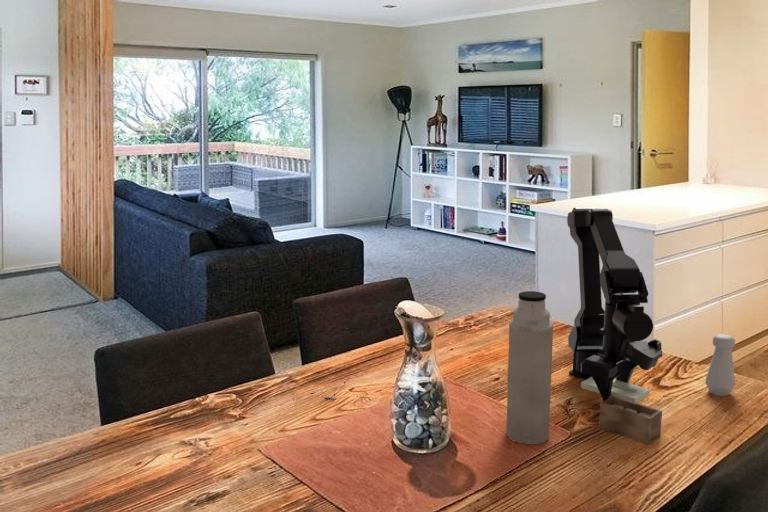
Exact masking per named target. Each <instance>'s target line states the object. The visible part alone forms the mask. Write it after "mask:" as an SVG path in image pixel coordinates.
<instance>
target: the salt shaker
mask: <svg viewBox="0 0 768 512" xmlns="http://www.w3.org/2000/svg"><path fill="white" fill-rule="evenodd" d="M712 345H713V346H714V351H713V355H712V358H711V361H710V364H709V367H708V370H707V373H706V376H705V385H706V387H707V389H708V393H709V394H710V395H711V394H712V395H714V396H715V397H727V395H728V396H729V395H731V393H732V391H733V389H734V388H735V385H736V380H735V370H734V362H733V361H734V360H733V354H732V353H733V351H732V350H733V348H734V347H735V346H736V339H735V338H734V337H733V336H732V335H730V334H724V333H720V334H719V333H718V334H715V335H713V337H712Z"/></svg>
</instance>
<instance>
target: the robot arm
mask: <svg viewBox="0 0 768 512" xmlns="http://www.w3.org/2000/svg"><path fill="white" fill-rule="evenodd" d="M613 216H614V215H613V211H612V210H611V209H608V208H601V207H600V206H598V207H597V206H596V207H595V206H594V207H593V206H592V207H590V206H589V207H573V208H572V211H570V212H568V214H567V216H566V218H567V227H568V228H569V234H570V237H571V238H572V239H573V241H574V242H575V244H576V246H577V251H578V254H577V255H578V269H579V270H578V272H579V274H578V275H579V277H578V278H579V292H580V293H579V294H580V295H579V296H580V308H579V311H578V313H577V314H576V316H575V318H574V320H573V322H574V323H573V325H574V326H573V327H572V329H571V331H570V333H569V335H568V336H567V337H568V338H567V339H568V340H567V341H568V347H569V348H570V350H571V351H573V355H572V369H571V370H569V371H568V374H569V375H573V376H576V377H579V378H583V379H585V380H587V379H588V378H590V377H592V378H593V380H594V381H595V383H596V385H597V388H598V390H599V392H600V393H599V394H600V396H601V399H602V400H603V401H605V400H607V399H609V398H610V395H611V390H612V385H613V380H614V379H615V380H619V381H622V382H626V383H629V384H630V379H631V377H632V375H633V372H634V370H635V368H637V367H639V369H641V370H643V371H649V370H651V368H654V367H656V365H657V363H658V361H659V359H660V358H662V357H663V353H662V352H663V349H662V341H660V340H658V339H657V338H654V339H651V340H650V341H649V342H647V340H646V339H647V338H649V336H650V335H651V334H652V332H653V330H654V322H653V319H652V318H651V316H650V315H649V314H647V313H646V312H645V311H644V310H645V307H644V305H643V304H648V302H649V300H648V295H649V291H648V288H647V287H648V286H647V284H646V280H645V277H644V275H643V271H642V270H641V269H640V268H639V265H638V264H637V262H636V260H635V259H634V258H632V257H630V256H629V255H627V254H626V252H625V250H624V247H623V244H622V242H621V239H620V237H619V234H618V232H617V229H616V226H615V223H614V222H613V221H614V220H613V218H614V217H613ZM600 259H601V262H600ZM601 264H602V268H601ZM602 293H603V298H604V308H603V302H602ZM636 293H637V294H636ZM603 401H602V402H603Z"/></svg>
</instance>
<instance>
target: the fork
mask: <svg viewBox="0 0 768 512" xmlns="http://www.w3.org/2000/svg"><path fill="white" fill-rule="evenodd" d="M321 397H322V398H324V399H326V398H327V399H328V400H336V399H335V398H336V397H335V398H334V397H333V396H324V395H322V396H321ZM329 398H330V399H329Z"/></svg>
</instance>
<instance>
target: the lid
mask: <svg viewBox="0 0 768 512" xmlns="http://www.w3.org/2000/svg"><path fill="white" fill-rule="evenodd" d="M580 388H581V389H584V390H587V391H591V392H593V393H597V394H600V392H599V390H598V388H597V385H596V383H595V381H594V380H593V378H592V377H590V378H588V379H585V380H583V381H581V383H580ZM650 390H651V389H650V388H646V387H643V386H639V385H636V384H632V383H630V382H629V383H626V382H622V381H619V380H617V379H616V378H615V379H614V380H613V385H612V390H611V395H610V397H612V396H615V397H618V398H622V399H625V400H628V401H632V402H635V403H639V402H640V401H642V400H644V399H645V398H647V397H648V396H650V392H651V391H650Z"/></svg>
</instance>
